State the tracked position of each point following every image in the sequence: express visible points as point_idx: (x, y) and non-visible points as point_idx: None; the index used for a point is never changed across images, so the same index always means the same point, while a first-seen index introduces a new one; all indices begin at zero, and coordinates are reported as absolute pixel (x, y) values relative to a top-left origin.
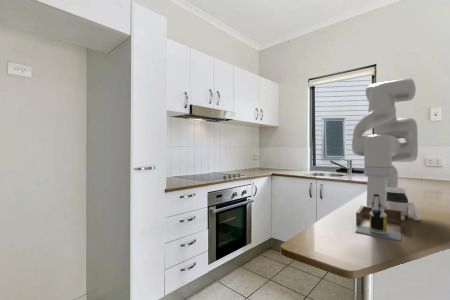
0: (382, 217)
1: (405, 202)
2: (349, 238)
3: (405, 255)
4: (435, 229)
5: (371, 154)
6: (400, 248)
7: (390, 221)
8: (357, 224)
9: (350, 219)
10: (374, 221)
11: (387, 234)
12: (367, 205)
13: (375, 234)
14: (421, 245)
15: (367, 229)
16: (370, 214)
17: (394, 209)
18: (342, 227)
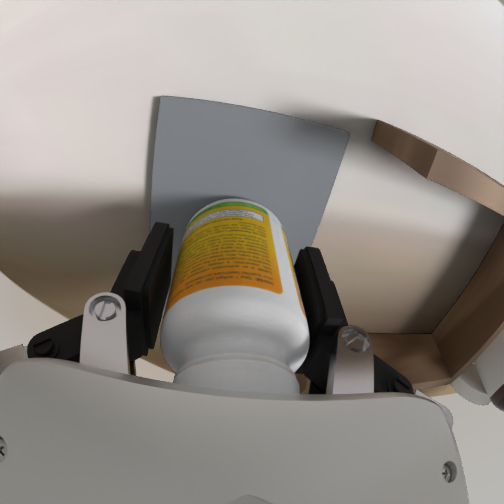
0: (145, 352)
1: (491, 397)
2: (33, 85)
3: (22, 287)
4: None
5: None
6: (66, 289)
7: (453, 307)
8: (377, 129)
9: (484, 117)
10: (120, 277)
11: None
12: (10, 365)
13: (163, 221)
14: (157, 351)
15: (259, 182)
16: (203, 291)
17: (497, 349)
18: (256, 4)
